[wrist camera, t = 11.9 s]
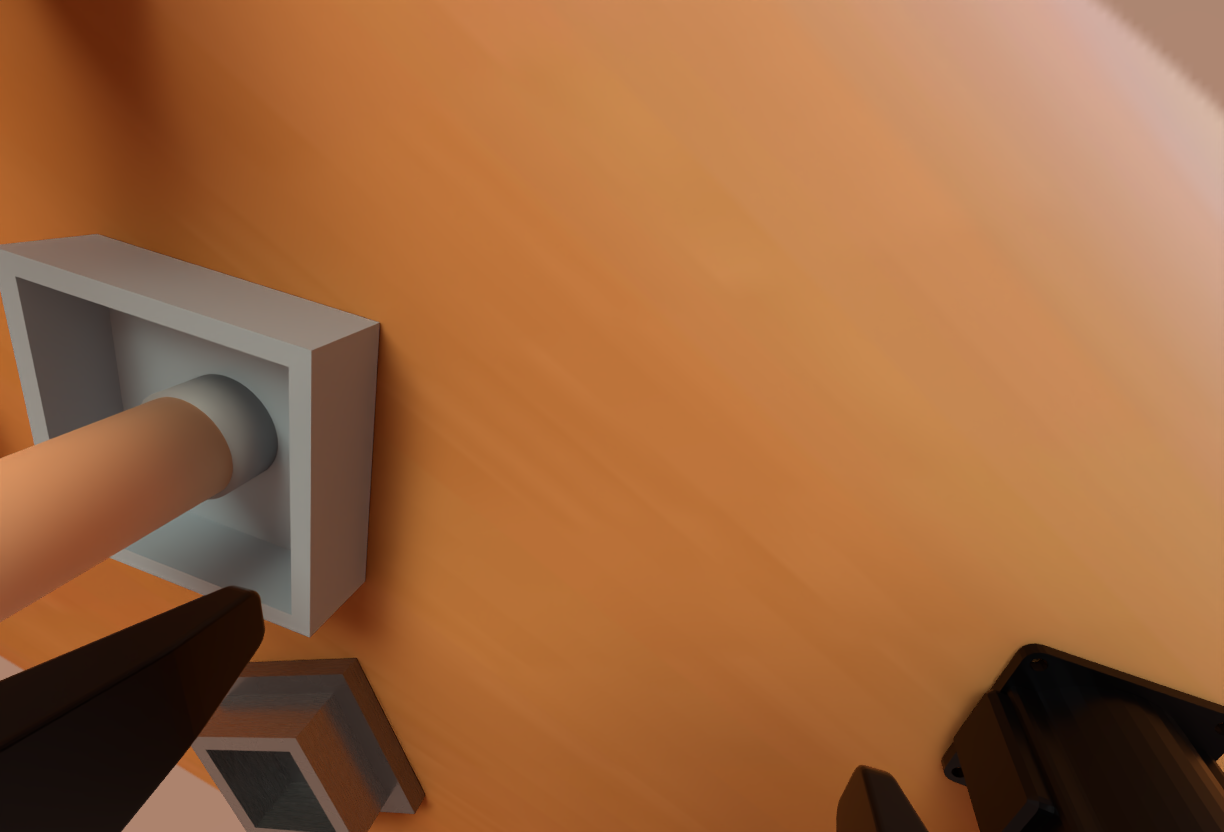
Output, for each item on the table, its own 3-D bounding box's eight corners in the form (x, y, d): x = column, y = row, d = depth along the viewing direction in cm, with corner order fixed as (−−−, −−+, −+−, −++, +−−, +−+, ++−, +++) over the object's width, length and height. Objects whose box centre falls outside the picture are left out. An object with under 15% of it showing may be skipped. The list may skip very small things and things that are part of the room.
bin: (379, 322, 21) (311, 350, 18) (365, 581, 27) (309, 637, 24) (97, 233, 23) (-10, 245, 20) (135, 494, 28) (54, 535, 25)
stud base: (356, 658, 29) (304, 719, 26) (425, 795, 32) (386, 865, 28) (218, 663, 32) (157, 718, 29) (293, 788, 35) (244, 851, 31)
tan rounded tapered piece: (278, 395, 23) (-314, 674, 11) (277, 490, 25) (-226, 820, 13) (179, 358, 24) (-495, 582, 11) (186, 453, 26) (-384, 736, 13)
